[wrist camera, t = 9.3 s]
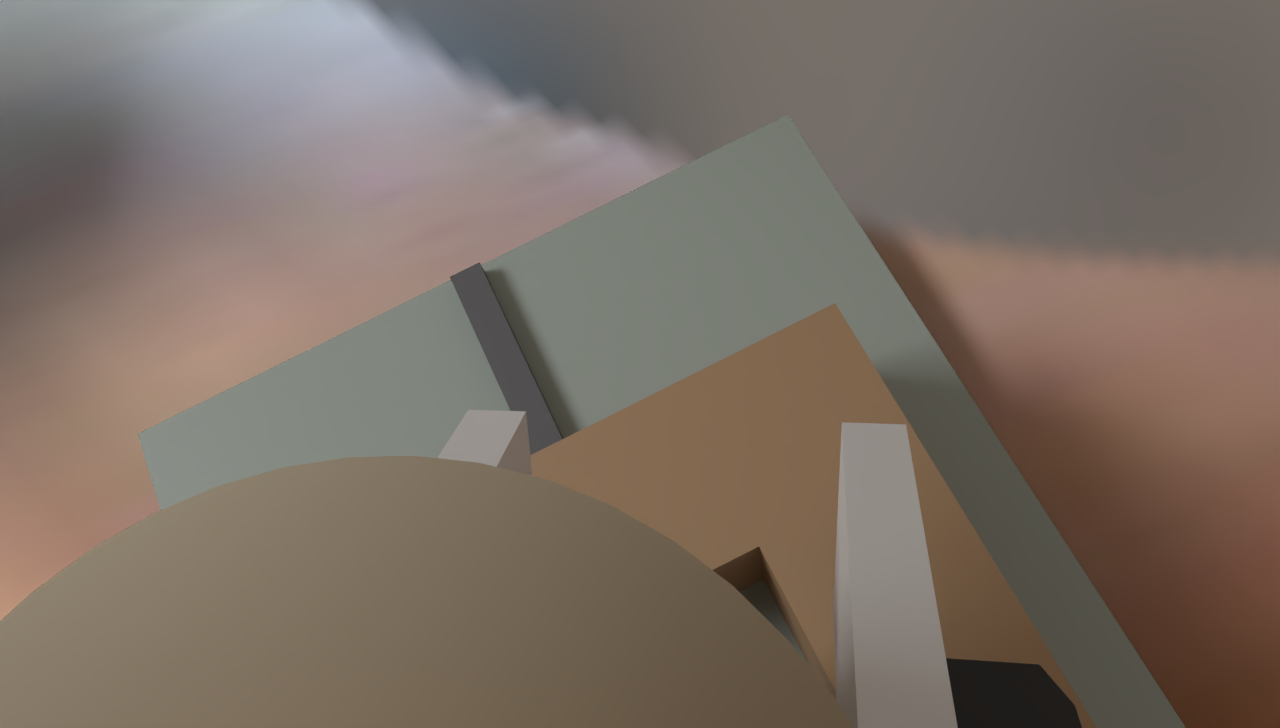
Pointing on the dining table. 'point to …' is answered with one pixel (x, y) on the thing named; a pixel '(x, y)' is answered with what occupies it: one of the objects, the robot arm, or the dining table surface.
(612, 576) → the round peg
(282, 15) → the dining table surface
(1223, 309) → the dining table surface
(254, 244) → the dining table surface
